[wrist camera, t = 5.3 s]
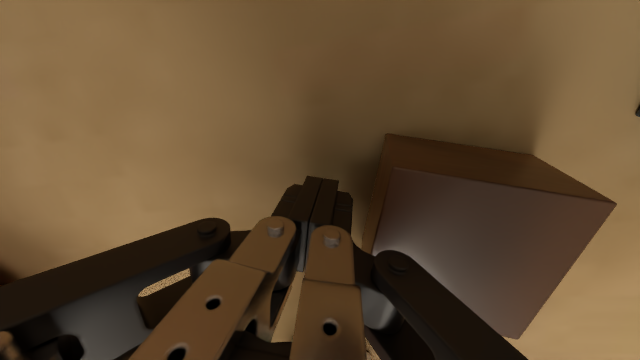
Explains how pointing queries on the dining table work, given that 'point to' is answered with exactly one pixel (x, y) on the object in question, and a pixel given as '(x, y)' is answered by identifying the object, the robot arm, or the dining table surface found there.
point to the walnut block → (482, 223)
